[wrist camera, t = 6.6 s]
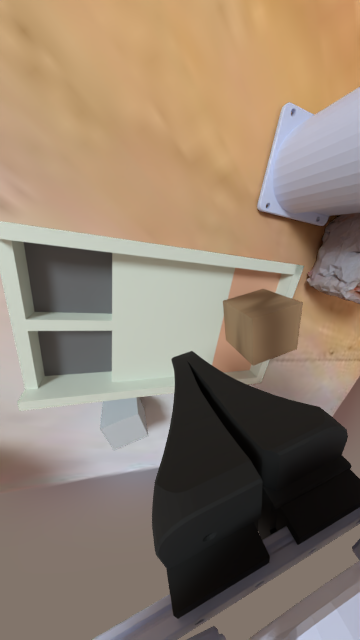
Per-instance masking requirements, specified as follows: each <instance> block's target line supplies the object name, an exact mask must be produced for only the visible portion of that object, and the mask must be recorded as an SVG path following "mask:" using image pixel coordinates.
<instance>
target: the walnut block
mask: <svg viewBox="0 0 360 640" xmlns="http://www.w3.org/2000/svg"><path fill="white" fill-rule="evenodd" d="M302 305H303V302H300V301H297V300H294V299H291V298H289V297H286V296H283V295H280V294H277V293H274V292H271V291H269V290H266V289H261V290H257V291H254V292H251V293H247V294H244V295H241V296H237V297H234V298H230V299H227V300H224V301H223V310H224V323H225V335H226V341H227V342H228V343H230V344H231V345H232V346H233V347H234V348H235V349H236V350H237V351H238V352H239V353H240V354H241V355H242V356H243V357H244V358H245V359H246V360H248V361H249V362H250V363H251V364H252V365H253V366H254V365H256V364H259V363H262V362H264V361H267V360H269V359H272V358H275V357H277V356H280V355H282V354H285V353H288V352H290V351H293V350H295V349H297V344H298V336H299V328H300V320H301V312H302Z"/></svg>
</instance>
